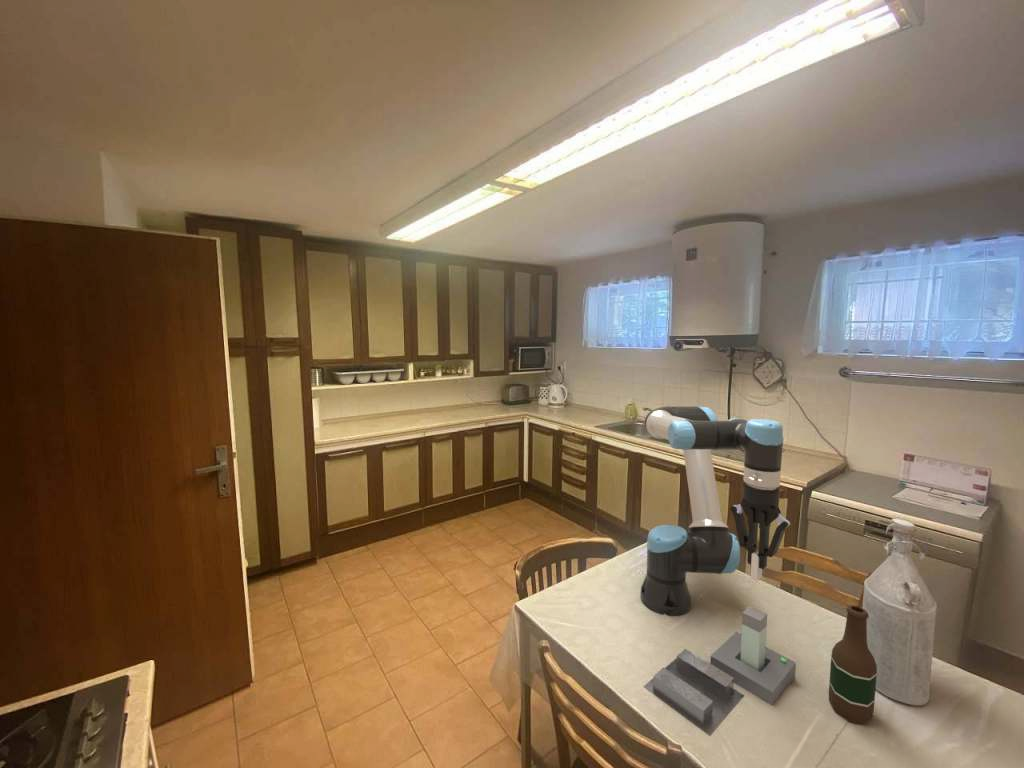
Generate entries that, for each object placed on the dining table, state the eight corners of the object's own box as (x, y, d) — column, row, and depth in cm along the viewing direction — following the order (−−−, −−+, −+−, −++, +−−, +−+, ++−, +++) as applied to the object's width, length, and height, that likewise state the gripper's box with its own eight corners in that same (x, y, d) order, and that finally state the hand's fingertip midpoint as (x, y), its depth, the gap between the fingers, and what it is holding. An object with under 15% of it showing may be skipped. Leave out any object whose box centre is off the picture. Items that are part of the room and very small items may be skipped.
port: (710, 670, 105) (710, 653, 104) (735, 645, 113) (736, 629, 113) (771, 708, 94) (772, 689, 93) (794, 677, 102) (796, 660, 102)
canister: (869, 698, 96) (882, 532, 92) (850, 649, 112) (860, 505, 108) (944, 720, 90) (961, 544, 87) (913, 665, 106) (926, 514, 102)
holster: (643, 689, 99) (643, 672, 99) (679, 658, 109) (680, 642, 109) (709, 739, 87) (710, 720, 86) (744, 698, 96) (745, 681, 96)
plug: (739, 673, 104) (742, 612, 102) (746, 665, 106) (749, 606, 105) (757, 683, 101) (760, 620, 99) (764, 675, 103) (767, 614, 102)
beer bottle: (819, 697, 97) (825, 599, 94) (850, 694, 97) (857, 597, 95) (849, 727, 89) (857, 621, 87) (882, 724, 90) (891, 619, 87)
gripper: (725, 481, 102) (721, 572, 105) (785, 496, 92) (779, 597, 95) (739, 474, 107) (735, 562, 109) (798, 488, 97) (792, 585, 99)
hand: (756, 578), depth 102 cm, fingers closed
